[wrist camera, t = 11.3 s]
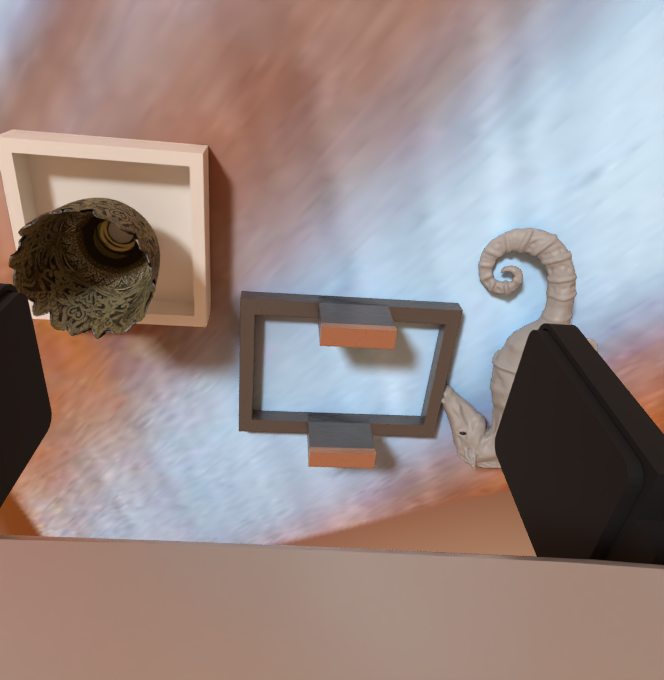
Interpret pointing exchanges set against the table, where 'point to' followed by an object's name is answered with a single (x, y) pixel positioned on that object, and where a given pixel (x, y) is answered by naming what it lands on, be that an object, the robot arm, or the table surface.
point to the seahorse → (463, 418)
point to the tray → (129, 188)
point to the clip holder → (346, 331)
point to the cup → (88, 266)
